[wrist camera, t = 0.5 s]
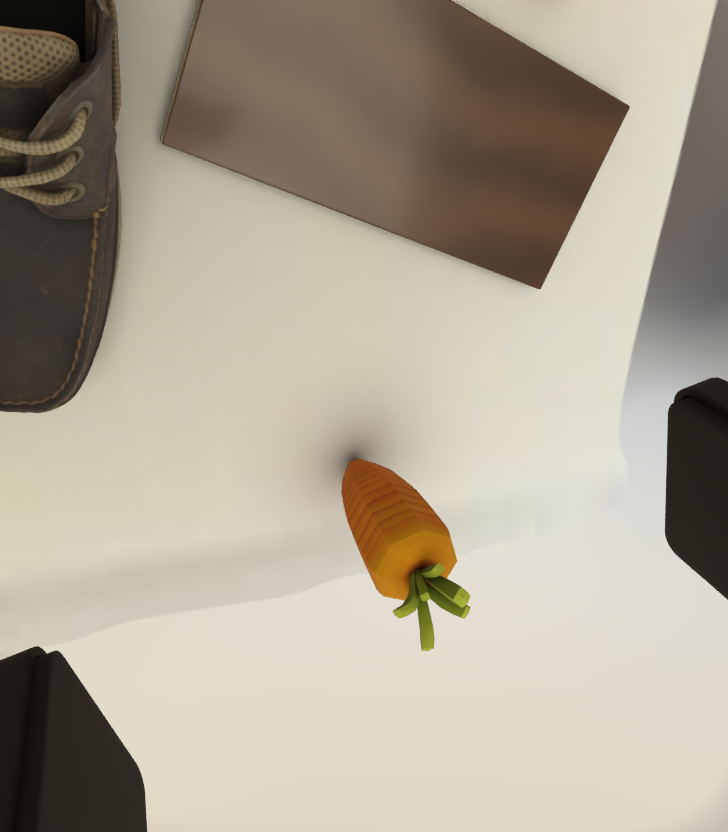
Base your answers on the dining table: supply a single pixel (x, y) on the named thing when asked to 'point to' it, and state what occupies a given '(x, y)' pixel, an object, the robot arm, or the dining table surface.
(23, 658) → the robot arm
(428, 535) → the carrot
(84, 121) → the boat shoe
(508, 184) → the board
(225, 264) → the dining table surface
